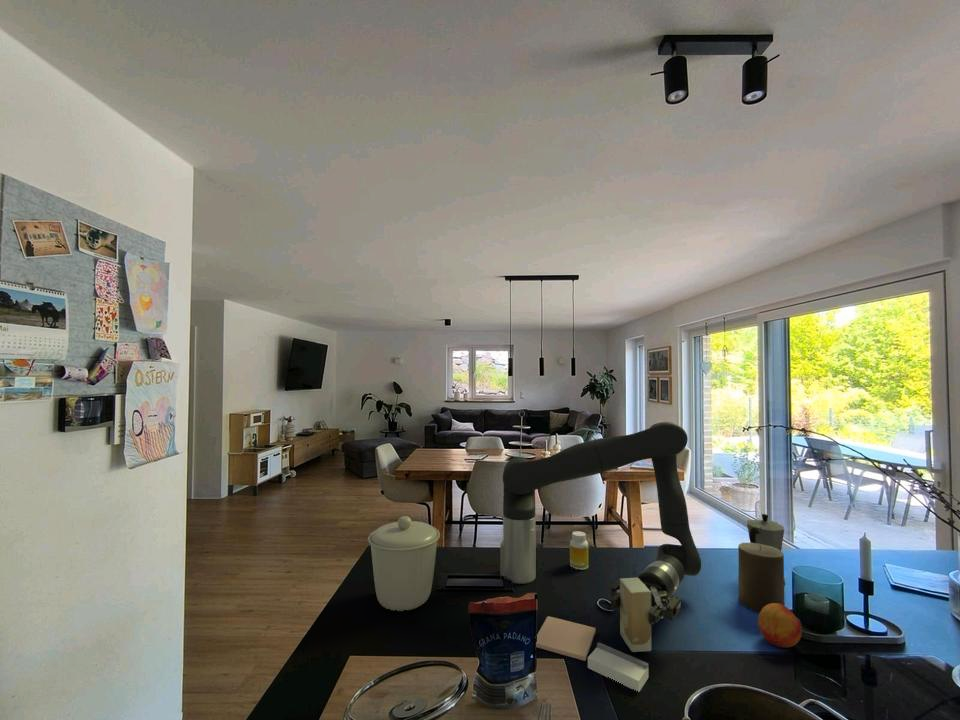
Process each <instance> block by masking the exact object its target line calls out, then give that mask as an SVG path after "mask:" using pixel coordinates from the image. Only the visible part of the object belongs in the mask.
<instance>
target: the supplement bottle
mask: <svg viewBox="0 0 960 720" xmlns="http://www.w3.org/2000/svg"><path fill="white" fill-rule="evenodd" d="M571 535H572V536H571V537H572V539H571V540H570V541H569V566H570V567H571V568H572V567H573V568H572V569H574V568H575V569H574V570H578V569H579V570H581V571H583V570H587V569H589V542H588V541H587V537H586V533H585V532H583V531H572V533H571Z"/></svg>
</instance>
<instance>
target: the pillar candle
mask: <svg viewBox="0 0 960 720" xmlns="http://www.w3.org/2000/svg"><path fill="white" fill-rule="evenodd" d="M737 546H738V553H737V554H738V577H737V578H738V588H737V589H738V594H737V595H738V600H739V602H740V603H741V604H742V606H744V607H745V608H747V609H749V610H751V611H753V612H757V613H759V614H760V612H761V610H762V609H763V607H764V606H766V605H768V604H771V603H779V604H782V605H784V606H786V605H785V604H786V603H785V601H786V600H785V584H784V579H785V557H784V553H783V551H782V550H781V551H780V550H778V549H777V548H774V547H771V546H767V545H763V544H758V543H750V542H741V543H739V544H738V545H737Z"/></svg>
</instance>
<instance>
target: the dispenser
mask: <svg viewBox="0 0 960 720" xmlns="http://www.w3.org/2000/svg"><path fill="white" fill-rule="evenodd" d="M587 668H588V669H589V670H592V671H593V672H596V673H598V674H599V675H601V676H604V677H606V678H608V677H609V678H608V679H610V678H611V679H610V680H612V679H613V680H612V681H614V680H615V681H614V682H616V681H617V683H618V682H619V684H620V683H621V685H622V684H623V685H622V686H625V687H626V688H628V689H631V690H633V689H634V690H633V691H635V690H636V691H635V692H637V691H638V692H637V693H640V692H641V690H642V689H643V687H644V686H645V684H646V682H647V681H648V679H649V677H650V676H649V663H648V662H646V661H644V660H641V659H639V658H637V657H635V656H632V655H629V654H627V653H624V652H622V651H621V650H617V649H615V648H613V647H611V646H609V645H606V644H603V643H602V642H597V643H596V647H595V649H594V650H593V651H592V652H591V653H590V654H589V656H587Z"/></svg>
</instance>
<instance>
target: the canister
mask: <svg viewBox="0 0 960 720" xmlns="http://www.w3.org/2000/svg"><path fill="white" fill-rule="evenodd" d="M440 536H441V533H440V531H439V529H437V528H436V527H434V526H432V524H431V525H430V524H429V523H426V522H423V521H415V520H412V519H411V517H409V516H408V515H403V516H400V517H398V520H397V521H395V522H389V523H387V524H384V525H381V526H379V527H378V528H376V529H375V530H373V531H372V532H371V533H370V534H369V535H368V537H367V542H368V544H369V545H370V550H371V561H372V571H373V581H374V587H375V588H374V589H375V593H376V598H377V601H378V602H379V604H380V605H381V607H383V608H385V609H387V610H388V609H390V610H389V611H395V610H397V611H395V612H405V611H404V610H407V611H411V610H414V609H417V608H418V607H419V606H420V607H421V606H423V605H424V604H425V603H426V602H427V600H428V599H429V597H430V595H431V592H432V587H433V580H434V573H435V564H436V556H437V545H438V540H439V539H440ZM422 604H423V605H422Z"/></svg>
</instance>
